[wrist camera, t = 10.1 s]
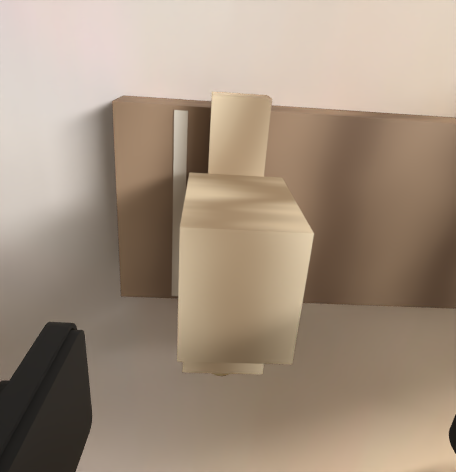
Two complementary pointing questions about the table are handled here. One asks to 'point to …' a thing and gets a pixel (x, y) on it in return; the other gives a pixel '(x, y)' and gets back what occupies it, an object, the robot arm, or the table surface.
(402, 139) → the walnut board
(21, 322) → the table surface
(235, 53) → the table surface
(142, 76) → the table surface
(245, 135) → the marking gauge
